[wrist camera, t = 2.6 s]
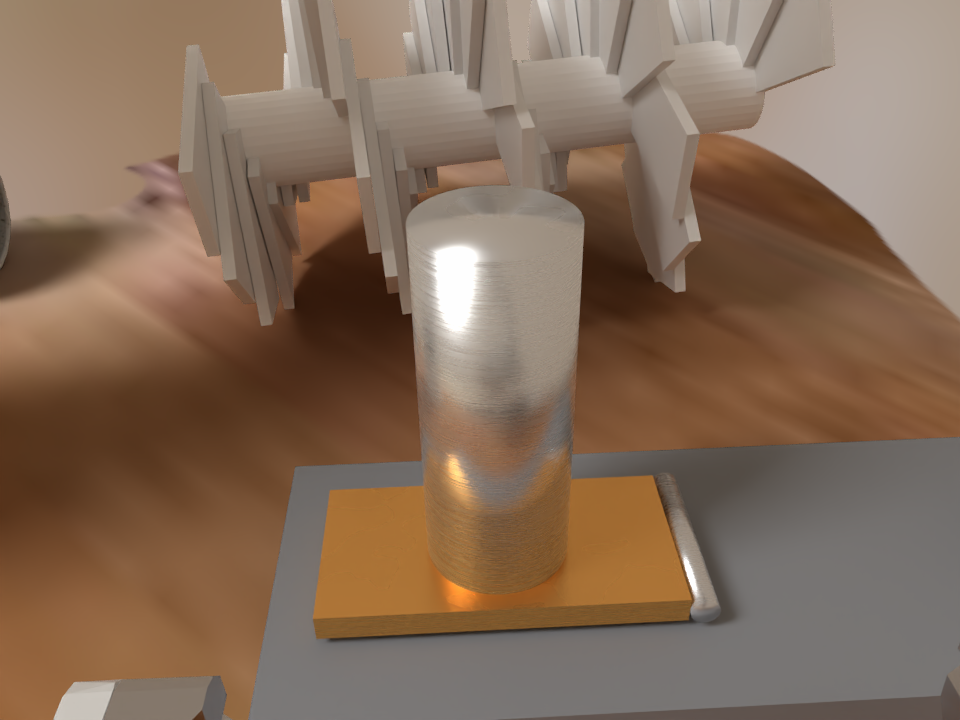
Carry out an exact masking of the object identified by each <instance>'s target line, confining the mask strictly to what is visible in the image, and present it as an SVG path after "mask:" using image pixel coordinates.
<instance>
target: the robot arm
mask: <svg viewBox="0 0 960 720" xmlns="http://www.w3.org/2000/svg"><path fill="white" fill-rule="evenodd" d="M958 650H959V651H960V643H959V646H958ZM226 696H227V694H226V692H225V689H224V686H223V683H222V680H221V677H220V676H202V677H176V678H150V679H122V680H104V681H86V682H74V683H73V684H72V686H71V687H70V688H69V690H68V691H67V692H66V693H65V695H64V696H63V697H62V699H61V702H60V704H59V707H58V709H57V712H56V714H55V717H54V719H53V720H232V719H230V718H229V717H227V716H226V715H224V714H223V711H224V706H225V701H226ZM941 705H942V717H943V720H960V665H959V666H958V667H957V668H955V669H954V670H953V671H951V672H950V673H949V674H947V677H946V680H945V683H944V686H943V689H942V693H941Z"/></svg>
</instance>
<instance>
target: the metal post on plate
mask: <svg viewBox="0 0 960 720" xmlns="http://www.w3.org/2000/svg"><path fill="white" fill-rule="evenodd" d="M406 234H407V248H408V263H409V278H410V293H411V307H412V322H413V337H414V352H415V366H416V381H417V396H418V411H419V425H420V440H421V455H422V470H423V484H424V486H407V487H385V488H363V489H341V490H330V493H329V500H328V508H327V516H326V523H325V531H324V538H323V546H322V553H321V561H320V568H319V576H318V584H317V591H316V599H315V606H314V614H313V623H314V628H315V634H316V639H327V638H347V637H366V636H386V635H406V634H426V633H445V632H465V631H485V630H505V629H525V628H544V627H564V626H584V625H604V624H623V623H643V622H663V621H683V620H689V615H690V613H691V616H692V618H693V619H694V620H695V621H697V622H710V621H712V620H714V619H716V618H717V617H718V616H719V615H720V613H721V608H720V605H719V602H718V599H717V596H716V593H715V590H714V587H713V585H712V582H711V579H710V576H709V573H708V570H707V567H706V564H705V561H704V559H703V556H702V553H701V550H700V547H699V544H698V541H697V538H696V535H695V533H694V530H693V527H692V524H691V521H690V518H689V515H688V512H687V509H686V507H685V504H684V501H683V498H682V495H681V492H680V489H679V486H678V483H677V481H676V478H675V476H674V475H672V474H670V473H660V474H658V475H656V476H655V477H654V478H653V475H650V476H628V477H606V478H584V479H571V470H572V451H573V432H574V412H575V393H576V374H577V355H578V336H579V316H580V297H581V278H582V259H583V240H584V217H583V215H582V213H581V212H580V210H579V209H578V208H577V207H576V206H575V205H573V204H572V203H571V202H569V201H568V200H566V199H564V198H562V197H560V196H557V195H555V194H552V193H549V192H546V191H542V190H538V189H533V188H527V187H520V186H507V185H487V186H474V187H467V188H461V189H456V190H452V191H448V192H444V193H441V194H438V195H436V196H433V197H431V198H429V199H427V200H425V201H423V202H422V203H420V204H419V205H417V206H416V207H415V208H414V209H413V210H412V211H411V212H410V213H409V215H408V217H407V220H406Z"/></svg>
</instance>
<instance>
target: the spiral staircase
mask: <svg viewBox="0 0 960 720" xmlns="http://www.w3.org/2000/svg"><path fill="white" fill-rule="evenodd" d="M281 2H282V10H283V19H284V28H285V37H286V46H287V53H285V54H284V90H277V91H268V92H259V93H251V94H242V95H233V96H224V97H221V96H220V94H219V92H218V90H217V88H216V86H215V84H214V82H209V78H208V74H207V71H206V67H205V64H204V61H203V57H202V54H201V50H200V47H199V45H190V46H187V50H186V64H185V80H184V94H183V109H182V124H181V138H180V153H179V168H178V174H179V177H180V180H181V183H182V186H183V188H184V191H185V194H186V197H187V200H188V203H189V205H190V208H191V211H192V214H193V217H194V219H195V222H196V225H197V228H198V231H199V234H200V236H201V239H202V242H203V245H204V248H205V251H206V253H207V256H208V257H210V256H218V255H221V260H222V269H223V278H224V281H225V283H226V284H227V285H228V286H229V287H230V289H231V290H232V291H233V292H234V293H235V294H236V296H237V297H238V298H239V299H240V300H241V301H242V303H243V304H252V303H257V308H258V313H259V318H260V323H261V326H266V325H272V324H273V321H274V317H275V313H276V309H277V305H278V301H279V294H278V289H279V292H280V296H281V299H282V303H283V307H284V310H285V309H295V307H294V288H293V269H292V256H299V255H302V252H301V244H300V236H299V228H298V221H297V213H296V205H295V203H296V199H297V196H298V197H299V202H308V201H310V183H309V182H317V181H325V180H333V179H341V178H349V177H357V184H358V190H359V196H360V202H361V208H362V214H363V221H364V227H365V233H366V239H367V245H368V251H369V254H371V253H379V252H381V251H382V258H383V265H384V272H385V279H386V286H387V292H388V294H390V293H398V292H399V297H400V302H401V308H402V314H409V313H412V307H411V293H410V278H409V263H408V248H407V234H406V220H407V217H408V215H409V213H410V212H411V211H412V210H413V209H414V208H415V207H416V206H417V205H418V193H425V192H427V188H426V180H427V185H428V188H434V187H438V176H437V167H439V166H447V165H455V164H463V163H471V162H479V161H488V160H496V159H502V162H503V165H504V168H505V171H506V174H507V177H508V180H509V183H510V186H520V187H527V188H533V189H538V190H542V191H546V192H549V193H552V194H553V192H560V191H567V165H568V160H569V154H570V150H577V149H585V148H593V147H601V146H610V145H618V144H625V159H624V161H623V163H622V170H623V175H624V180H625V185H626V191H627V196H628V201H629V206H630V211H631V216H632V221H633V232H634V234H635V236H636V239H637V241H638V244H639V246H640V248H641V251H642V253H643V255H644V258H645V260H646V263H647V271H648V272H649V273H650V274H651V275H652V277H653V279H654V282H662V283H663V284H665V285H666V286H667V287H669V288H670V289H671V290H673V291H674V292H682V291H686V286H685V257H686V256H687V255H688V254H689V253H690V252H691V251H692V250H693V249H694V248H695V247H696V245H697V244H698V243H699V242H700V241H701V237H700V233H699V228H698V223H697V218H696V213H695V209H694V204H693V199H692V194H691V190H690V183H691V178H692V172H693V167H694V162H695V157H696V152H697V146H698V141H699V136H700V134H707V133H715V132H723V131H731V130H739V129H747V128H751V127H753V126H754V125H755V124H756V123H757V122H758V120H759V118H760V115H761V113H762V109H763V105H764V98H765V91H768V90H771V89H773V88H776V87H778V86H782V85H784V84H787V83H790V82H792V81H795V80H797V79H800V78H803V77H806V76H809V75H811V74H814V73H817V72H819V71H822V70H825V69H827V68H830V67H833V66H835V53H834V38H833V21H832V6H831V0H531V8H530V21H529V31H528V43H527V46H528V50H529V54H530V58H531V59H530V60H522V63H517V61H516V60H515V61H512V53H511V43H510V32H509V22H508V13H507V3H506V0H409V7H410V8H409V9H410V20H411V25H412V32H413V33H412V32H408V33H403V41H404V51H405V61H406V71H407V76H400V77H392V78H384V79H374V80H369V78H364V79H356V72H355V65H354V59H353V52H352V44H351V39H340V38H339V30H338V24H337V19H336V14H335V10H334V5H333V0H281ZM370 175H371V177H370ZM425 176H426V180H425ZM371 181H372V184H371ZM372 188H373V191H372ZM373 195H374V198H373ZM374 202H375V205H374ZM375 209H376V212H375ZM376 216H377V219H376ZM377 223H378V226H377ZM378 230H379V233H378ZM379 237H380V240H379ZM380 244H381V248H380ZM276 281H277V283H276ZM277 285H278V289H277ZM255 298H256V302H255Z"/></svg>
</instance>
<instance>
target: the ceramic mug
mask: <svg viewBox="0 0 960 720" xmlns="http://www.w3.org/2000/svg"><path fill="white" fill-rule="evenodd" d="M10 234H11V219H10V212H9V203H8V199H7V196H6V191H5V188H4V185H3V181H2V178H1V176H0V269H1V268H2V266H3V264H4V261H5V258H6V256H7V253H8V247H9V241H10Z"/></svg>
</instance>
